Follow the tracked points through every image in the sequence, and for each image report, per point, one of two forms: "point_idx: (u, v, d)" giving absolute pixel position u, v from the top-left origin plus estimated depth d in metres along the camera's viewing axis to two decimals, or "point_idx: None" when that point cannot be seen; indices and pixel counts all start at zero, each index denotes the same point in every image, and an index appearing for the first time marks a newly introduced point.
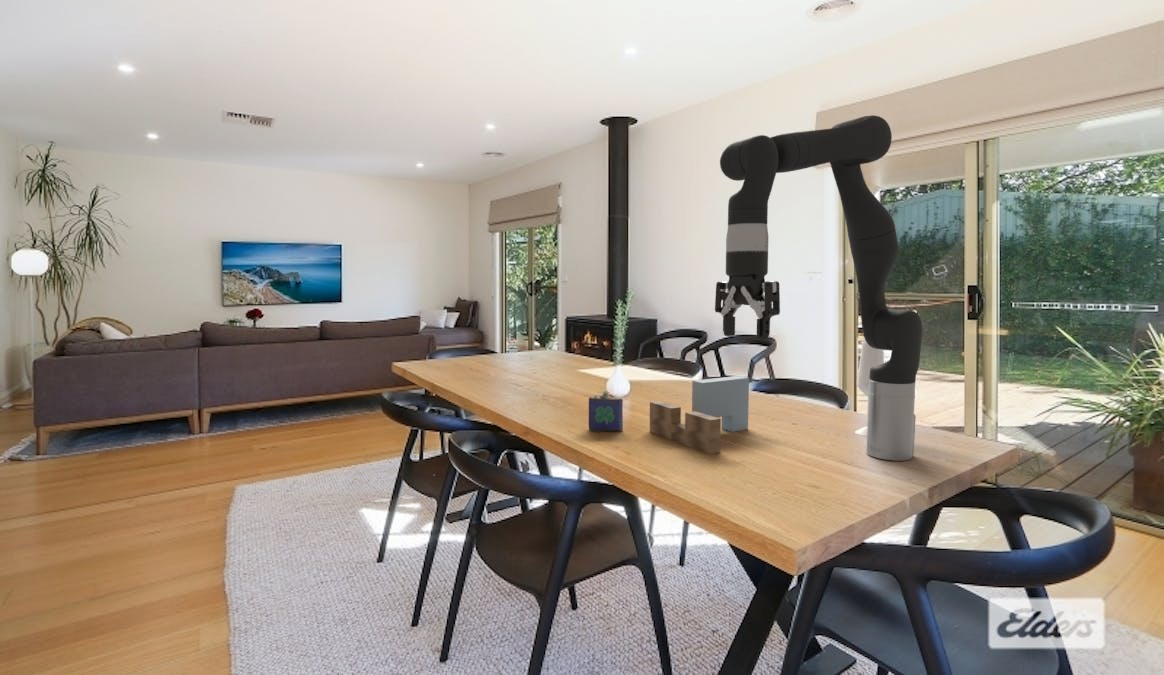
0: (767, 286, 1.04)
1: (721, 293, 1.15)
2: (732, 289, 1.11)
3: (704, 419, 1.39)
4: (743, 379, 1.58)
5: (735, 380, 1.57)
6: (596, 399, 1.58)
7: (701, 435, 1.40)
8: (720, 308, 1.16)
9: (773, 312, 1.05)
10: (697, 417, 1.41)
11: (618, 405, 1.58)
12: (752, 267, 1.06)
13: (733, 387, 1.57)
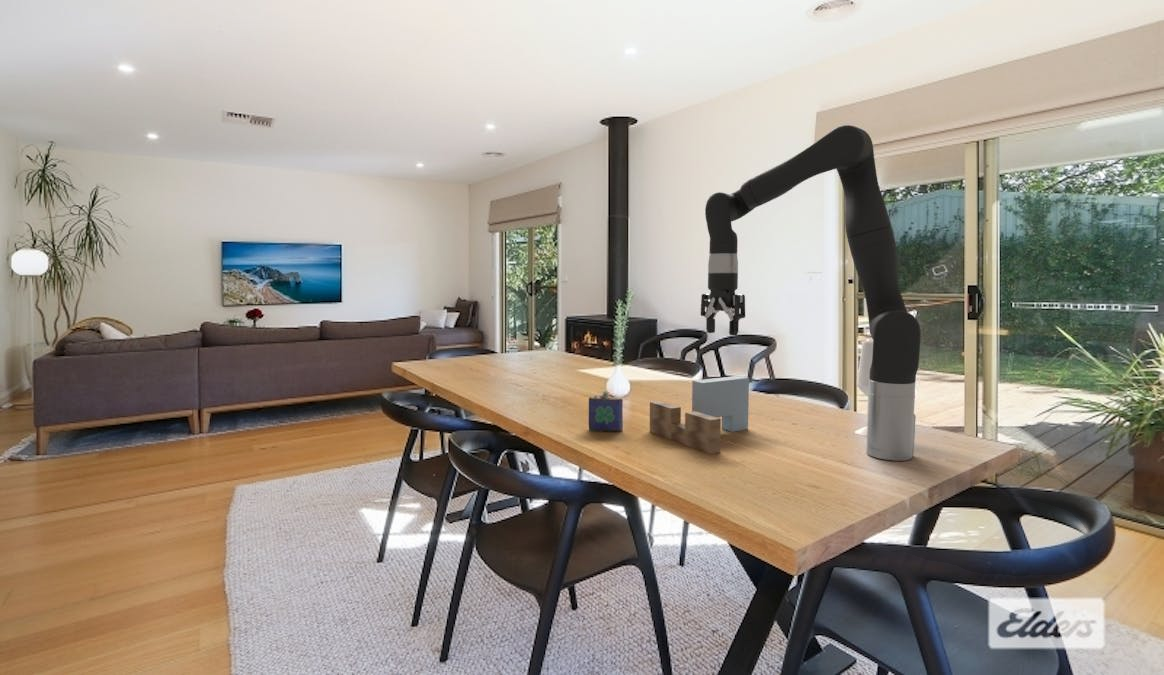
0: (736, 298, 1.49)
1: (705, 302, 1.60)
2: (712, 299, 1.56)
3: (704, 419, 1.39)
4: (743, 379, 1.58)
5: (735, 380, 1.57)
6: (596, 399, 1.58)
7: (701, 435, 1.40)
8: (704, 313, 1.60)
9: (740, 316, 1.49)
10: (697, 417, 1.41)
11: (618, 405, 1.58)
12: (726, 284, 1.51)
13: (733, 387, 1.57)
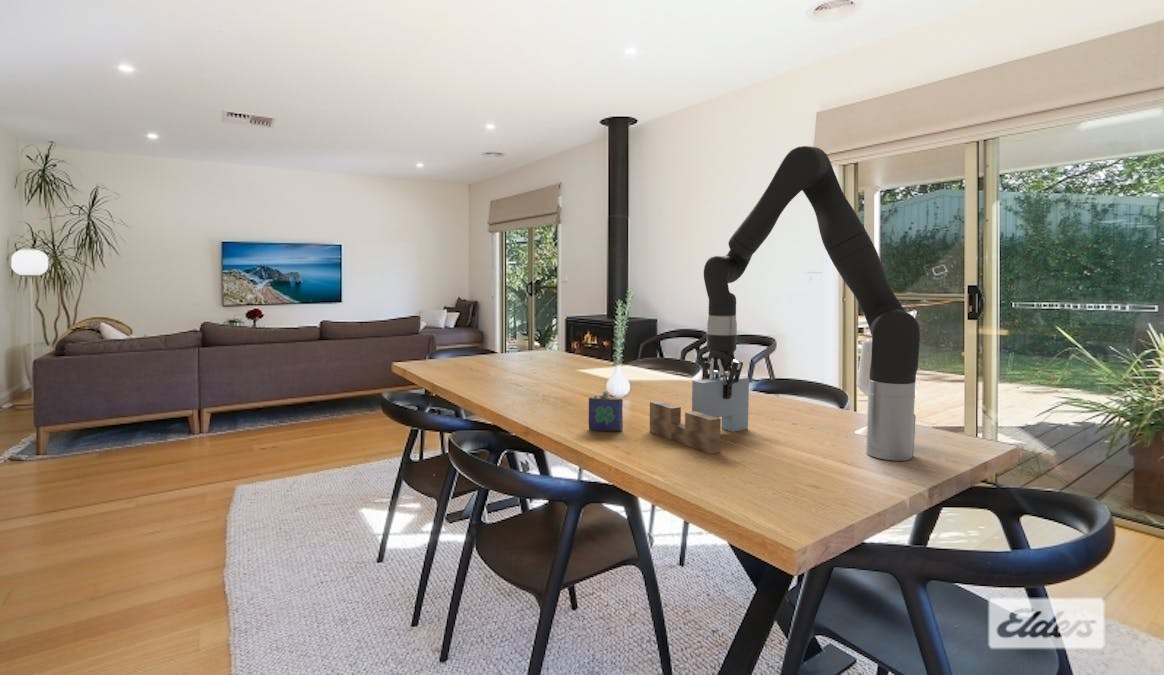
0: (734, 365, 1.51)
1: (706, 364, 1.61)
2: (711, 360, 1.57)
3: (704, 419, 1.39)
4: (743, 379, 1.58)
5: None
6: (596, 399, 1.58)
7: (701, 435, 1.40)
8: (708, 375, 1.60)
9: (733, 382, 1.53)
10: (697, 417, 1.41)
11: (618, 405, 1.58)
12: (725, 346, 1.53)
13: (733, 387, 1.57)
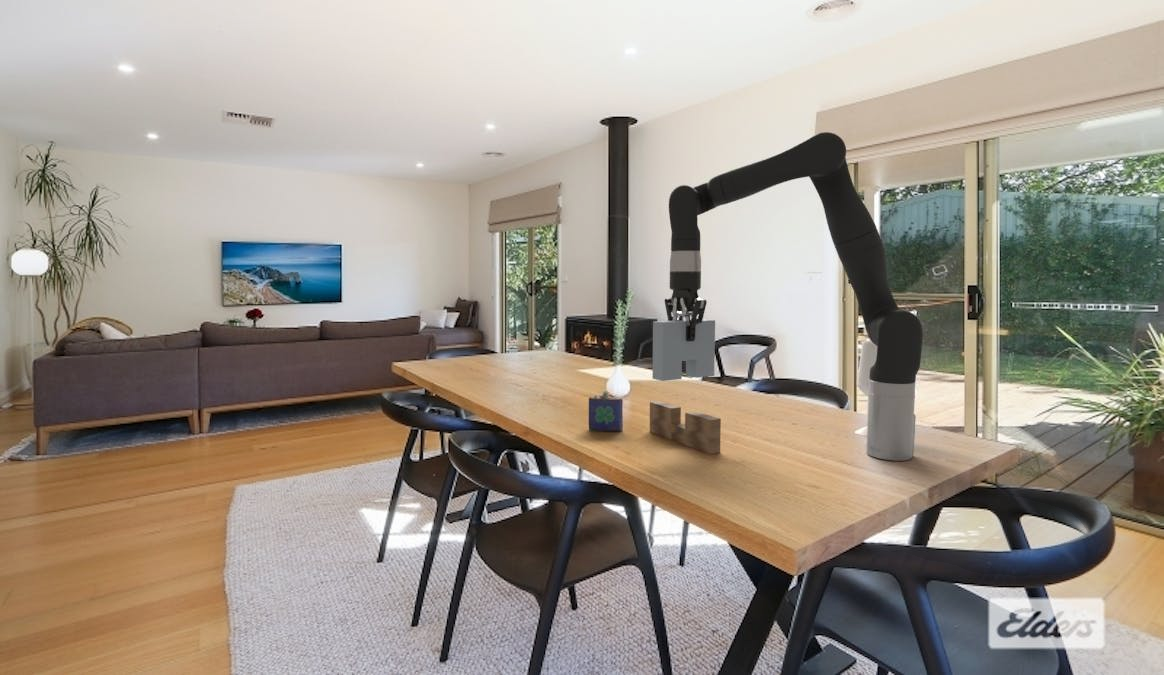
0: (697, 303, 1.40)
1: (669, 306, 1.50)
2: (674, 300, 1.46)
3: (704, 419, 1.39)
4: (709, 321, 1.47)
5: None
6: (596, 399, 1.58)
7: (701, 435, 1.40)
8: (671, 317, 1.49)
9: (696, 322, 1.42)
10: (697, 417, 1.41)
11: (618, 405, 1.58)
12: (687, 283, 1.42)
13: (698, 329, 1.46)
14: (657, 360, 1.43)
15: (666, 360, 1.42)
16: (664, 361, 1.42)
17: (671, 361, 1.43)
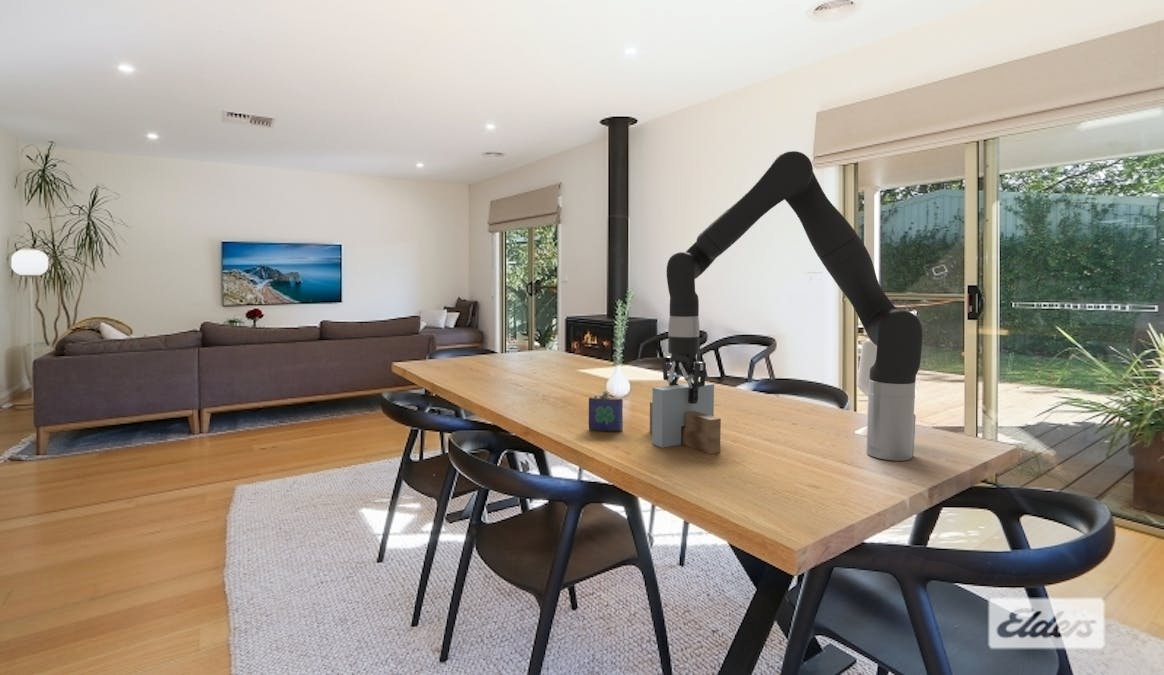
0: (696, 366, 1.41)
1: (667, 365, 1.51)
2: (673, 363, 1.47)
3: (704, 419, 1.39)
4: (707, 386, 1.48)
5: (699, 387, 1.47)
6: (596, 399, 1.58)
7: (701, 435, 1.40)
8: (667, 377, 1.51)
9: (699, 385, 1.41)
10: (697, 417, 1.41)
11: (618, 405, 1.58)
12: (686, 349, 1.43)
13: None
14: (657, 426, 1.44)
15: (666, 427, 1.43)
16: (664, 428, 1.43)
17: (671, 428, 1.44)
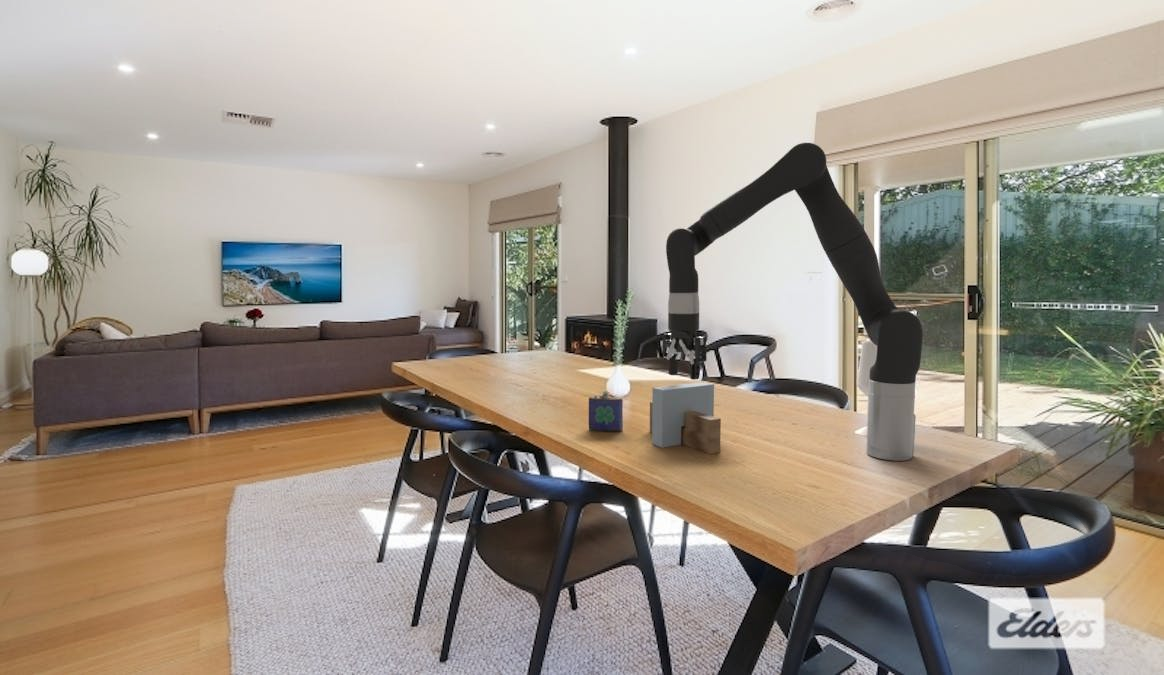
0: (696, 341, 1.40)
1: (666, 342, 1.51)
2: (673, 340, 1.47)
3: (704, 419, 1.39)
4: (707, 386, 1.48)
5: (699, 387, 1.47)
6: (596, 399, 1.58)
7: (701, 435, 1.40)
8: (666, 353, 1.51)
9: (701, 360, 1.40)
10: (697, 417, 1.41)
11: (618, 405, 1.58)
12: (686, 325, 1.42)
13: (697, 395, 1.47)
14: (657, 426, 1.44)
15: (666, 427, 1.43)
16: (664, 428, 1.43)
17: (671, 428, 1.44)
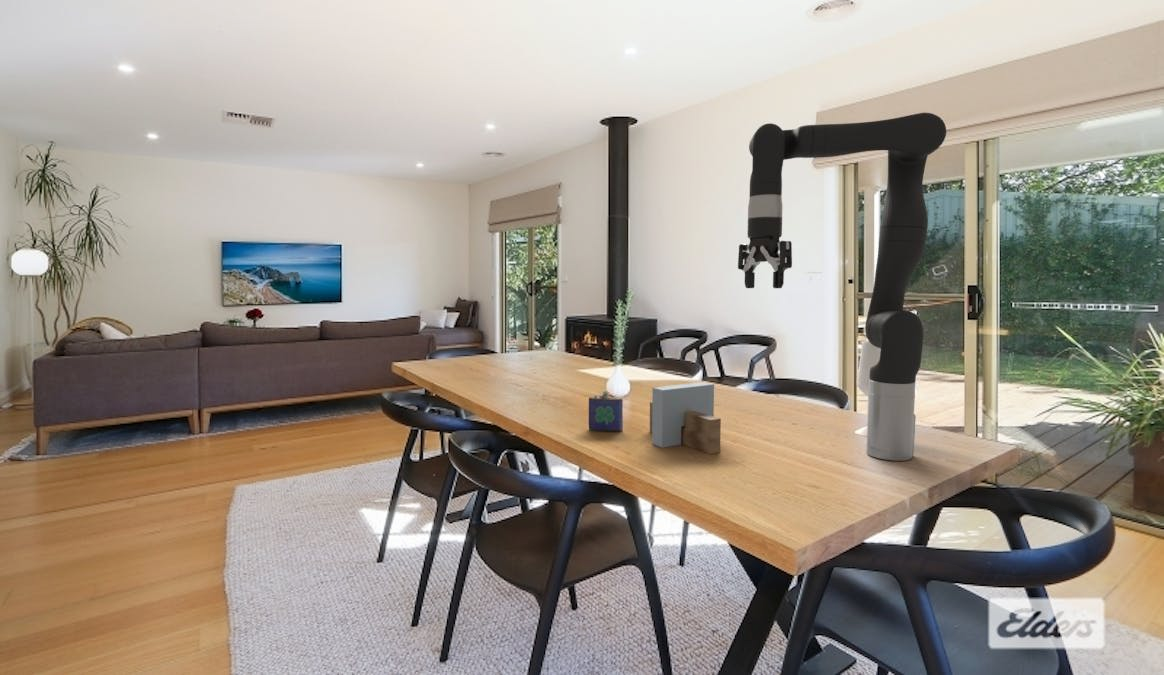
0: (782, 244, 1.30)
1: (743, 253, 1.41)
2: (753, 249, 1.37)
3: (704, 419, 1.39)
4: (707, 386, 1.48)
5: (699, 387, 1.47)
6: (596, 399, 1.58)
7: (701, 435, 1.40)
8: (742, 266, 1.42)
9: (786, 265, 1.31)
10: (697, 417, 1.41)
11: (618, 405, 1.58)
12: (770, 230, 1.32)
13: (697, 395, 1.47)
14: (657, 426, 1.44)
15: (666, 427, 1.43)
16: (664, 428, 1.43)
17: (671, 428, 1.44)
